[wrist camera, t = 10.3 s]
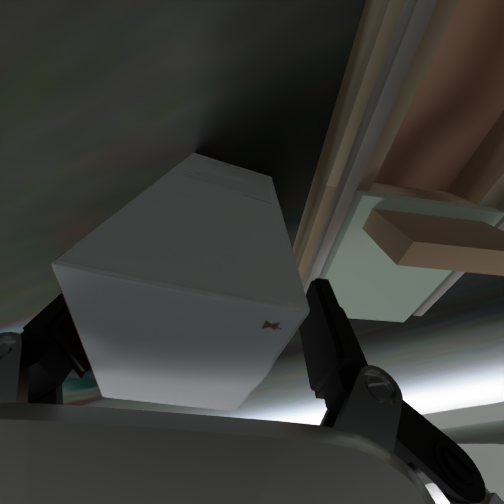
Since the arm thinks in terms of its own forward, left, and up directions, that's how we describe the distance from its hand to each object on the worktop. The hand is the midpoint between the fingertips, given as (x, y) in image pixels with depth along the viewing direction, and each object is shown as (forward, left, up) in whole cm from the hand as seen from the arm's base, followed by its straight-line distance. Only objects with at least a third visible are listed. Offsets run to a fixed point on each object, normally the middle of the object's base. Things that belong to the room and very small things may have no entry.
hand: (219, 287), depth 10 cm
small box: (-1, 0, -9) cm, 9 cm away
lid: (+13, -2, -6) cm, 15 cm away
